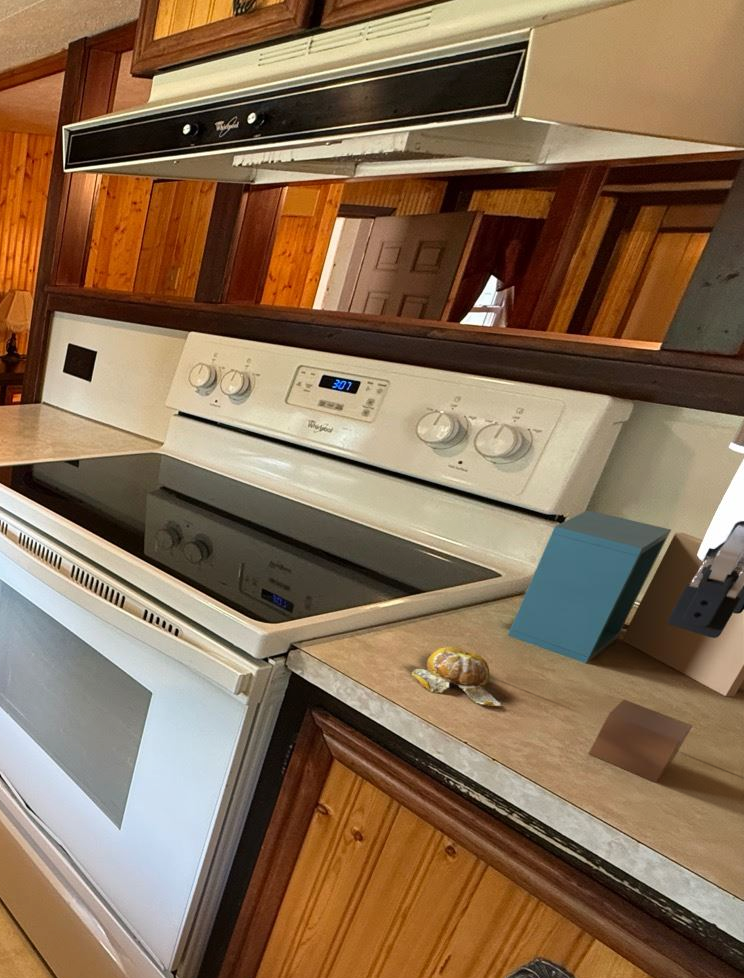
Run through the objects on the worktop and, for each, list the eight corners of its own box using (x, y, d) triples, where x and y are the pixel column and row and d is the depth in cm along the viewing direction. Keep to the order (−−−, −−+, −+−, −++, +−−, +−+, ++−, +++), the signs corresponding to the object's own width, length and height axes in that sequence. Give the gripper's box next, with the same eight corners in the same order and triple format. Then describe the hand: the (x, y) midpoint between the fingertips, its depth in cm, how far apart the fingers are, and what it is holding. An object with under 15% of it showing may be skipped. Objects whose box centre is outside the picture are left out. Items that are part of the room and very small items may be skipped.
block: (669, 765, 73) (693, 725, 71) (656, 783, 71) (679, 741, 69) (603, 738, 77) (623, 699, 75) (588, 753, 75) (608, 713, 73)
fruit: (411, 685, 85) (421, 658, 84) (411, 656, 92) (421, 631, 90) (501, 712, 81) (514, 684, 80) (495, 680, 87) (507, 654, 86)
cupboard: (616, 638, 98) (671, 529, 92) (585, 664, 91) (642, 548, 85) (541, 613, 104) (587, 510, 98) (507, 636, 98) (554, 526, 92)
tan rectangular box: (679, 643, 97) (737, 535, 91) (792, 700, 85) (867, 580, 79) (621, 640, 97) (675, 532, 92) (725, 696, 85) (795, 576, 80)
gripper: (861, 464, 54) (745, 661, 61) (886, 442, 63) (782, 615, 69) (715, 440, 60) (622, 622, 66) (756, 423, 69) (671, 584, 75)
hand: (704, 618), depth 68 cm, fingers open, 9 cm apart
